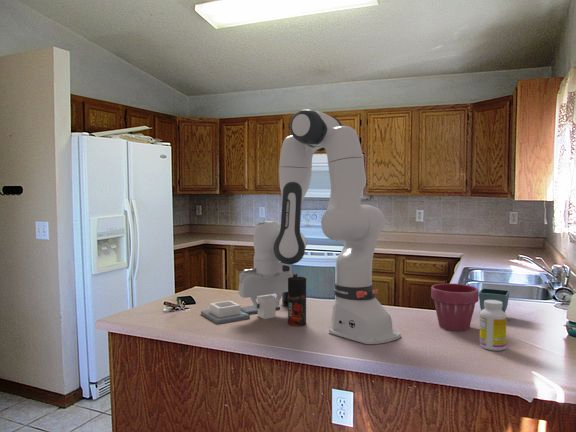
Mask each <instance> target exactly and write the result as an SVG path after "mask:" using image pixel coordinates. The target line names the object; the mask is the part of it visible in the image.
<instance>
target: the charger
mask: <svg viewBox="0 0 576 432" xmlns="http://www.w3.org/2000/svg"><path fill="white" fill-rule="evenodd" d="M275 299H276V296H274V295H272V294H269V295H262V296H257V303H259V304H260V306H259V307H260V308H259V309H258V313H257V317H259V318H261V319H263V320H268V319H271V318H272V319H273V317H274V318H276V310H275Z"/></svg>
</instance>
